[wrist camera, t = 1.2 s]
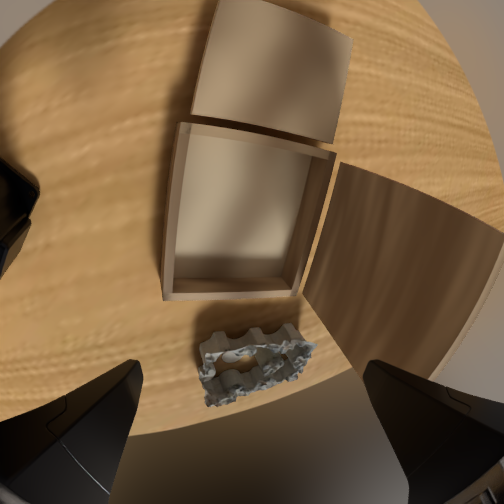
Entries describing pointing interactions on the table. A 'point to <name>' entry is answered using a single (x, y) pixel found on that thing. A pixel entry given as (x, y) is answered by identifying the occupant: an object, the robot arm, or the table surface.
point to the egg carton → (259, 376)
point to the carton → (253, 156)
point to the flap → (399, 273)
